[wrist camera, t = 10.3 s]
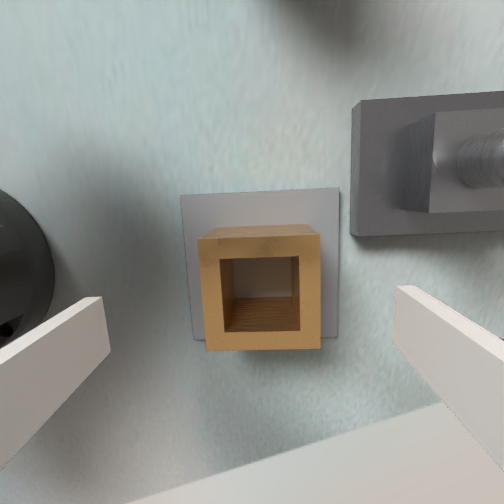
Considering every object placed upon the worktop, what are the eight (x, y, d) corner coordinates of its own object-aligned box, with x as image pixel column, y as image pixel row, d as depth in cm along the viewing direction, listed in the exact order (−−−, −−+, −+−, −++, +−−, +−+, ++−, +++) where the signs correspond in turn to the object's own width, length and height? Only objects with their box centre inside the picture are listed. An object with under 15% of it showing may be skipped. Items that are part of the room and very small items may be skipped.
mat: (195, 336, 25) (193, 339, 24) (182, 195, 23) (180, 195, 22) (335, 333, 24) (337, 336, 24) (337, 187, 22) (339, 187, 21)
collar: (221, 311, 24) (206, 350, 18) (215, 227, 22) (197, 239, 16) (306, 309, 23) (320, 348, 17) (305, 223, 22) (320, 234, 16)
